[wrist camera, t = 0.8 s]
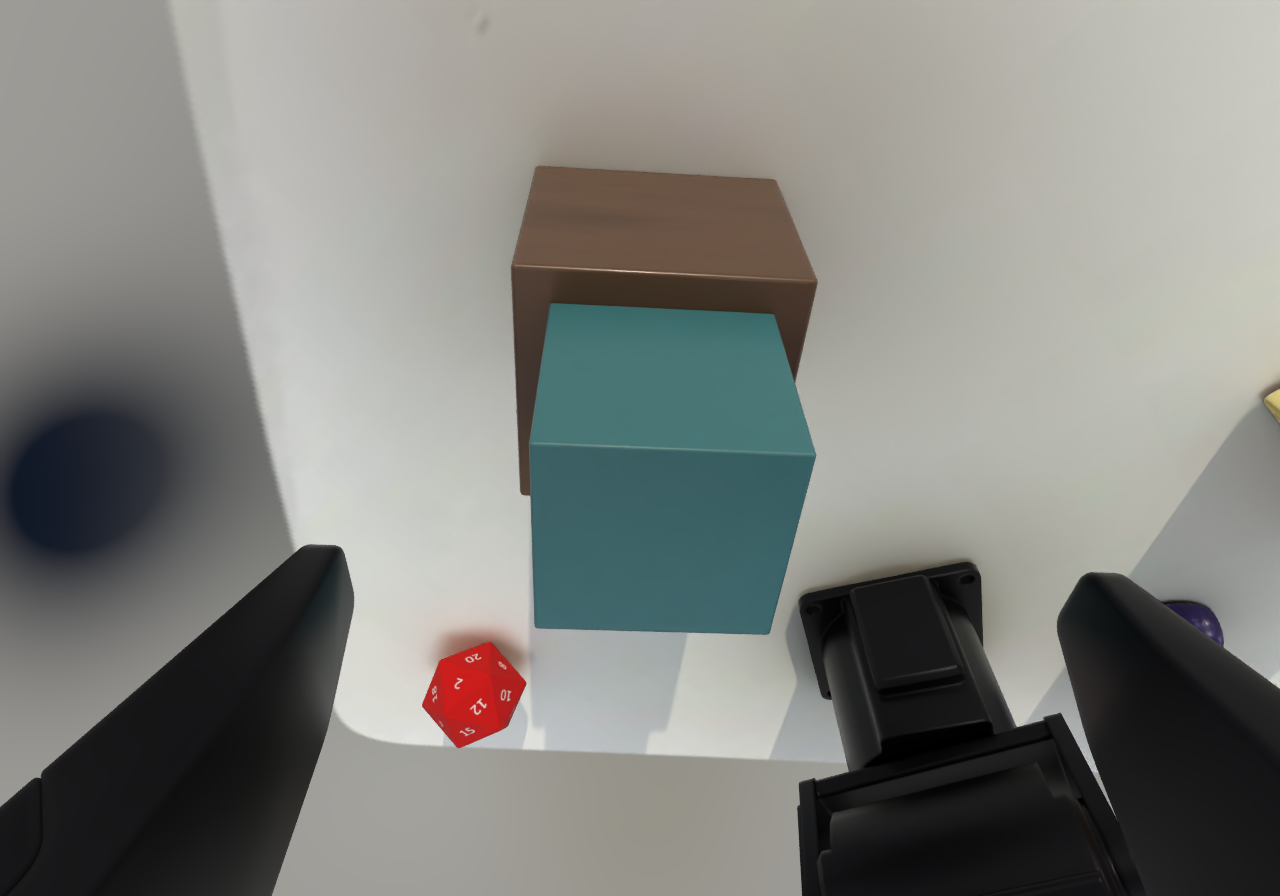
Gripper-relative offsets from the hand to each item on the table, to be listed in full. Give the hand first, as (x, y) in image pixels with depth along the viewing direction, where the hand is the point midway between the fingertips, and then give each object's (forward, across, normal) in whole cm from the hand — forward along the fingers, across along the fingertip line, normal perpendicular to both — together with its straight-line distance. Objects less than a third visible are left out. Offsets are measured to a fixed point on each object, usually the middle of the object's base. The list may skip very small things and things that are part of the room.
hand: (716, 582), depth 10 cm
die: (+13, +6, +19) cm, 24 cm away
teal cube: (+8, 0, +3) cm, 8 cm away
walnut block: (+13, 0, +2) cm, 13 cm away
